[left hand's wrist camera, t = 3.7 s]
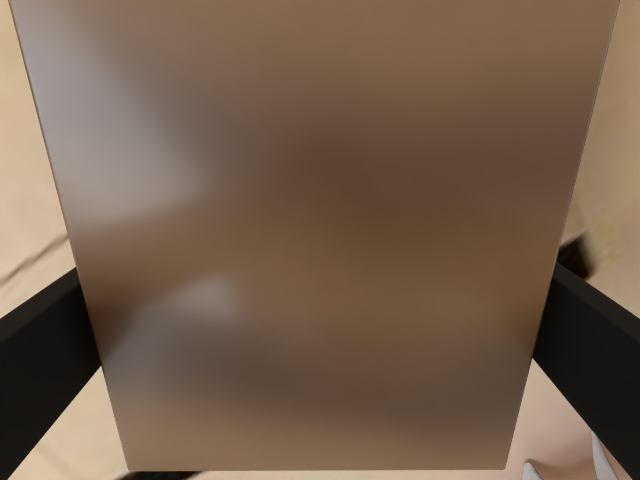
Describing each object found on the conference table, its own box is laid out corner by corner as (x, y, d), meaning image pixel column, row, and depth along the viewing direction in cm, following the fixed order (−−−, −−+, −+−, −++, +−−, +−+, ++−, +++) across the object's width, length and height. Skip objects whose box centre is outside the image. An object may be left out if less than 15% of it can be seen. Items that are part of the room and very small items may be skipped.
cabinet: (144, -195, 12) (-193, -771, 4) (487, -195, 12) (810, -763, 4) (207, 316, 19) (127, 472, 11) (427, 316, 19) (506, 471, 11)
